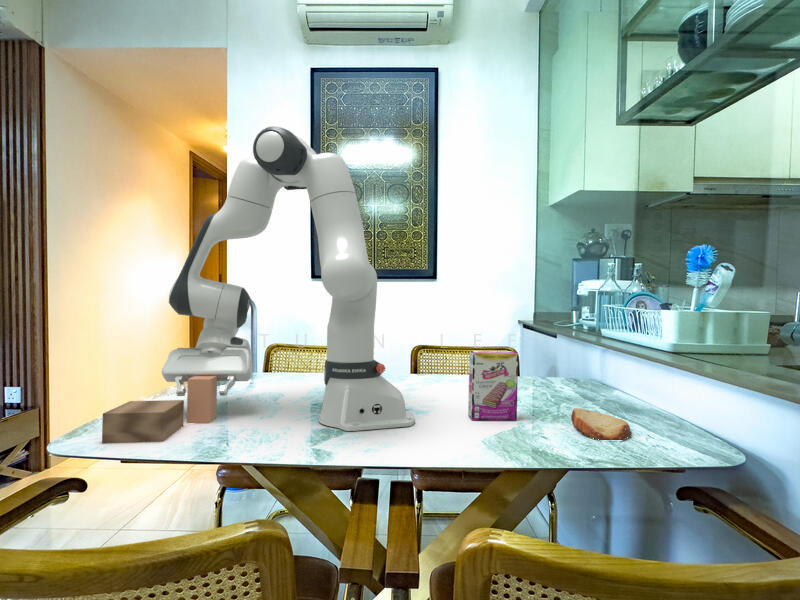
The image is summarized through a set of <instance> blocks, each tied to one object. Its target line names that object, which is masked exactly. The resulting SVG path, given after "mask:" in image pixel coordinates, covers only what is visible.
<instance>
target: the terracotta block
mask: <svg viewBox="0 0 800 600" xmlns="http://www.w3.org/2000/svg"><path fill="white" fill-rule="evenodd" d="M186 393H187V394H186V396H187V397H186V400H187V401H186V402H187V404H186V424H187V423H195V424H211V423H212V422H213V421H214V420H216V418H217V411H218V410H217V403H218V402H217V401H218V398H217V397H218V381H217V376H194V377H191V378H189V379H188V382H187V389H186ZM211 421H212V422H211ZM210 422H211V423H210Z"/></svg>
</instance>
